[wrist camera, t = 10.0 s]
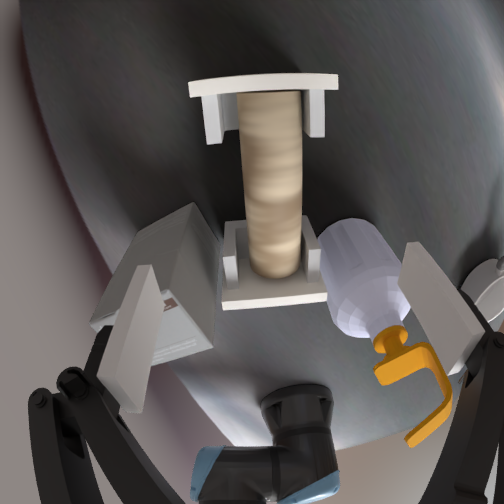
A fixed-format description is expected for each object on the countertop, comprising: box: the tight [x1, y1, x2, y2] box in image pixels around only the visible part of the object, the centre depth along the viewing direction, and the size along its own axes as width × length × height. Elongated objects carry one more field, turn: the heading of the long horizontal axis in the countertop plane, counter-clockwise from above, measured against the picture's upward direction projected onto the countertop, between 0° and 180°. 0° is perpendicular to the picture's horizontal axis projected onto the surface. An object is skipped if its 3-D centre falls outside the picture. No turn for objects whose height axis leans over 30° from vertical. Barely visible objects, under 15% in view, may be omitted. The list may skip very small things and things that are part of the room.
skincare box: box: [89, 202, 220, 366], centre depth 27 cm, size 8×7×16 cm
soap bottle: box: [317, 218, 452, 448], centre depth 26 cm, size 9×9×25 cm
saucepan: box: [460, 256, 504, 322], centre depth 37 cm, size 12×20×6 cm, turn 12°
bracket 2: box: [222, 215, 328, 310], centre depth 29 cm, size 4×9×11 cm, turn 94°
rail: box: [236, 89, 302, 279], centre depth 23 cm, size 15×5×5 cm
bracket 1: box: [188, 73, 338, 145], centre depth 21 cm, size 4×9×11 cm, turn 94°
